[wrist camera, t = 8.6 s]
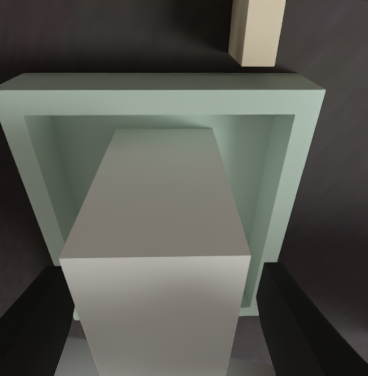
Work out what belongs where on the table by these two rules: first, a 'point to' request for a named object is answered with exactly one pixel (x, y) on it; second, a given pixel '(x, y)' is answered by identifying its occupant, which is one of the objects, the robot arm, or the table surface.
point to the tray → (164, 119)
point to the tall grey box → (158, 256)
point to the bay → (255, 31)
